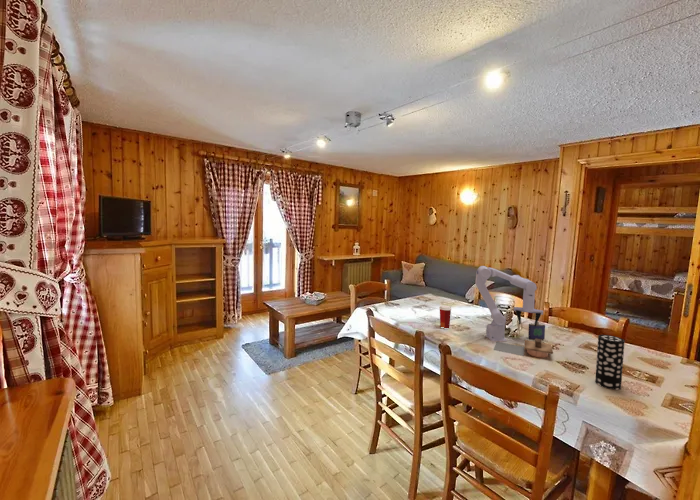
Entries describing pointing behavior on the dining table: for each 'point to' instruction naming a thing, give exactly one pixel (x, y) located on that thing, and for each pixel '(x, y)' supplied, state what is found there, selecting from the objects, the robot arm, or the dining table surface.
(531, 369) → the dining table surface
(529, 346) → the lid
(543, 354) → the bowl
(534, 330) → the flask
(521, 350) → the mat
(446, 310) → the pint of red drink
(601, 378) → the white-spotted black cylinder
